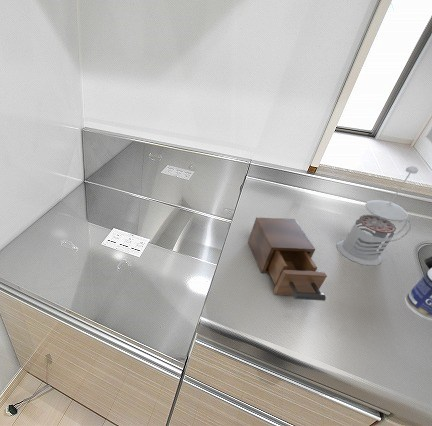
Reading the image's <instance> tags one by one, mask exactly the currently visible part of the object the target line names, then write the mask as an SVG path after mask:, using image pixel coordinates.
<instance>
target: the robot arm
mask: <svg viewBox="0 0 432 426" xmlns="http://www.w3.org/2000/svg"><path fill="white" fill-rule="evenodd" d="M423 262H424V264H425V265H426V267H427V268H428V271H429V270H430V269H431V268H432V256H429V257H428V258H424V261H423Z"/></svg>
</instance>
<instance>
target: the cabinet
mask: <svg viewBox="0 0 432 426" xmlns="http://www.w3.org/2000/svg"><path fill="white" fill-rule="evenodd" d="M247 243H248V246H249V248H250V250H251V253H252V255H253V257H254V260H255V263H256V264H257V267H258V269H259V271H260V274H267V275H268V274H269V275H270V273H269V271H268V269H267V266H268V264H269V261H270V259H271V256H272V254H273V252H274V250H284V251H306V252H308V254H309V255H310V257H311V258H312V257H313V255H314V253H315V252H316V248H315V247H314V245H313V243H312V242H311V240H310V239H309V238H308V236H307V235H306V233H305V232H304V230H303V229H302V227H301V226H300V225H299V223H298V221H297V220H296V219H295V218H281V217H255V220H254V223H253V225H252V228H251V232H250V235H249V238H248V240H247Z"/></svg>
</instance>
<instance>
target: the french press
mask: <svg viewBox="0 0 432 426" xmlns="http://www.w3.org/2000/svg"><path fill="white" fill-rule="evenodd" d="M405 172H407V173H408V174H407V176H406V177H405V179H404V181H403V182H402V183H401V185H400V186H399V188H398V190H397V192H396V193H395V194H394V196H393V198H392V199H391V201H390V200H389V201H388V200H383V199H373V200H368V201H366V202H365V204H364V206H365V209H366V211H368V213H370V214H363V215H360V216H359V219H356V221H355V222H354V224H353V225H352V227H351V229H350V230H349V232H348V234H347V236H346V237H345V239H343V240H340V241H338V242H337V244H336V248H337V251H339V253H340V254H341V255H342V256H343V257H345V258H347V259H348V260H349V261H352V262H354V263H357V264H360V265H365V266H377V265H379V264H382V260H383V258H382V256H381V254H382V253H383V251H384V250H385V249H386V247H388V244H389V243H391V242H396V241H398V240H401V239H403V238H404V237H406V236H407V234H409V232H410V231H411V229H412V222H411V220H409V219H408V218H409V213H408V212H407V211H406V210H405V208H403V206H400V205H399V204H396V203H394V202H393V201H394V200H395V199H396V197H397V195H398V193H399V192H400V190H402V187H404V184H405V183H406V182H407V180H408V178H409V177H410V175H411V174H413V175H415V174H417V173H418V172H419V169H418V167H416V166H413V165H411V166H408V167H406V168H405ZM403 221H405V223H404V225H403V227H402V228H401V229H400V230H399V231H398V232H396V230H397V227H396V225H395V224H394V223H393V222H399V223H403ZM407 224H409V228H408V230H407V231H406V232H405V233H404V234H402V236H400V237H398V238H396V239H393V238H394V236H397V235H398V234H400V233H402V232H403V231H404V229H405V228H406V227H407ZM366 232H367V233H366ZM395 232H396V233H395ZM388 234H389V235H388Z"/></svg>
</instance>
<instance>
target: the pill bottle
mask: <svg viewBox="0 0 432 426" xmlns="http://www.w3.org/2000/svg"><path fill="white" fill-rule="evenodd" d="M404 302H405V304H406V306H407V307H408V308H409V309H410V311H411V312H413V313H414V314H415V315H417V316H418V317H420V318H422V319H424V320H427V321H429V322H432V268H431V269H430V270H429V269H428V270H427V272H426V273H424V275H423V276H422V277H421V278H420V279H419V280H418V282H417V283H416V284H415V285H414V286H413V288H412V289H411V290H410V291H409V292H408V293H407V294H406V296H405V298H404Z"/></svg>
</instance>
